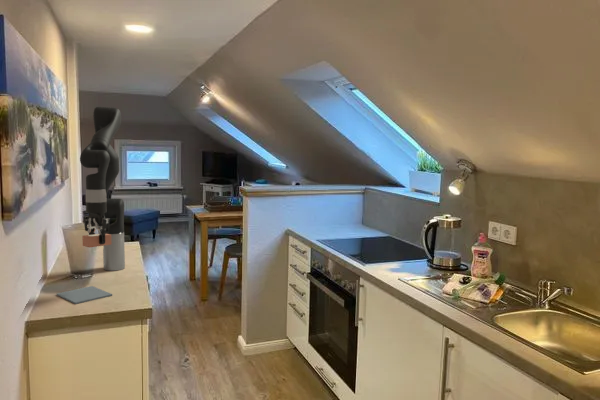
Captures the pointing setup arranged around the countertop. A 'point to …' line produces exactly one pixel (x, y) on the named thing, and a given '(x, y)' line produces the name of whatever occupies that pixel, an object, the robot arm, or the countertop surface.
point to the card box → (95, 240)
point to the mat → (84, 294)
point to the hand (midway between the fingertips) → (97, 242)
